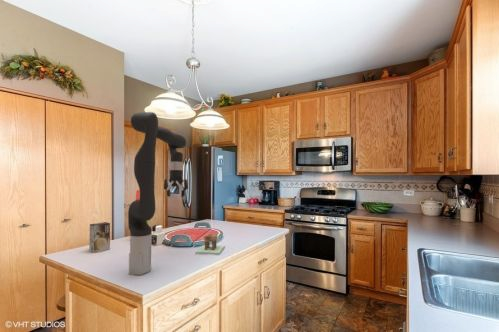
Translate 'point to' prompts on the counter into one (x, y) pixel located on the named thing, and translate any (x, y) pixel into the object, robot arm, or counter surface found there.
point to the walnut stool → (210, 240)
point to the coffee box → (99, 237)
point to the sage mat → (210, 250)
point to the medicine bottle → (157, 235)
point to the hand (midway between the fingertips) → (175, 196)
